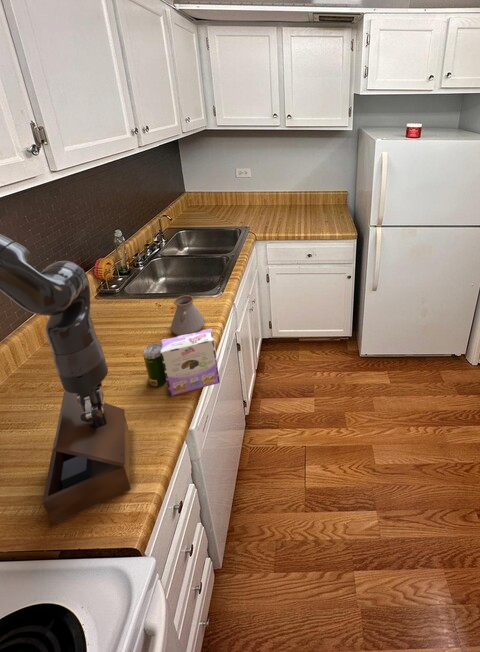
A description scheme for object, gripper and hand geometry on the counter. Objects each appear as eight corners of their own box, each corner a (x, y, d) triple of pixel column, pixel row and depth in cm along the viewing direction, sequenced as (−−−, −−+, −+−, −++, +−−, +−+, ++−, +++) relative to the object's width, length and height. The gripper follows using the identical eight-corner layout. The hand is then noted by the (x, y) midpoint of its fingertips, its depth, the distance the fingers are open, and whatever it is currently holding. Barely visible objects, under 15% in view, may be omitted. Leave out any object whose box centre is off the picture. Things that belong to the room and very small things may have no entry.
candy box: (218, 370, 103) (212, 327, 97) (220, 385, 98) (214, 340, 91) (170, 383, 98) (161, 338, 92) (169, 398, 93) (159, 352, 87)
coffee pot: (172, 323, 124) (166, 289, 118) (205, 317, 127) (200, 284, 122) (168, 364, 105) (161, 325, 100) (206, 355, 109) (201, 318, 103)
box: (53, 527, 65) (41, 502, 62) (64, 460, 77) (54, 437, 74) (131, 490, 71) (124, 466, 68) (130, 434, 83) (123, 412, 80)
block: (66, 494, 70) (60, 480, 68) (68, 475, 73) (63, 461, 72) (91, 483, 72) (86, 469, 70) (92, 465, 75) (87, 452, 74)
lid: (52, 450, 60) (55, 446, 60) (63, 391, 72) (66, 389, 72) (122, 466, 68) (125, 463, 68) (122, 411, 80) (124, 409, 80)
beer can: (165, 388, 96) (158, 356, 92) (146, 388, 96) (138, 356, 92) (172, 374, 101) (166, 343, 97) (155, 374, 101) (148, 342, 97)
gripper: (62, 346, 68) (83, 407, 74) (50, 392, 57) (76, 460, 64) (104, 334, 71) (121, 394, 78) (101, 376, 60) (121, 442, 67)
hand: (101, 424), depth 71 cm, fingers closed
